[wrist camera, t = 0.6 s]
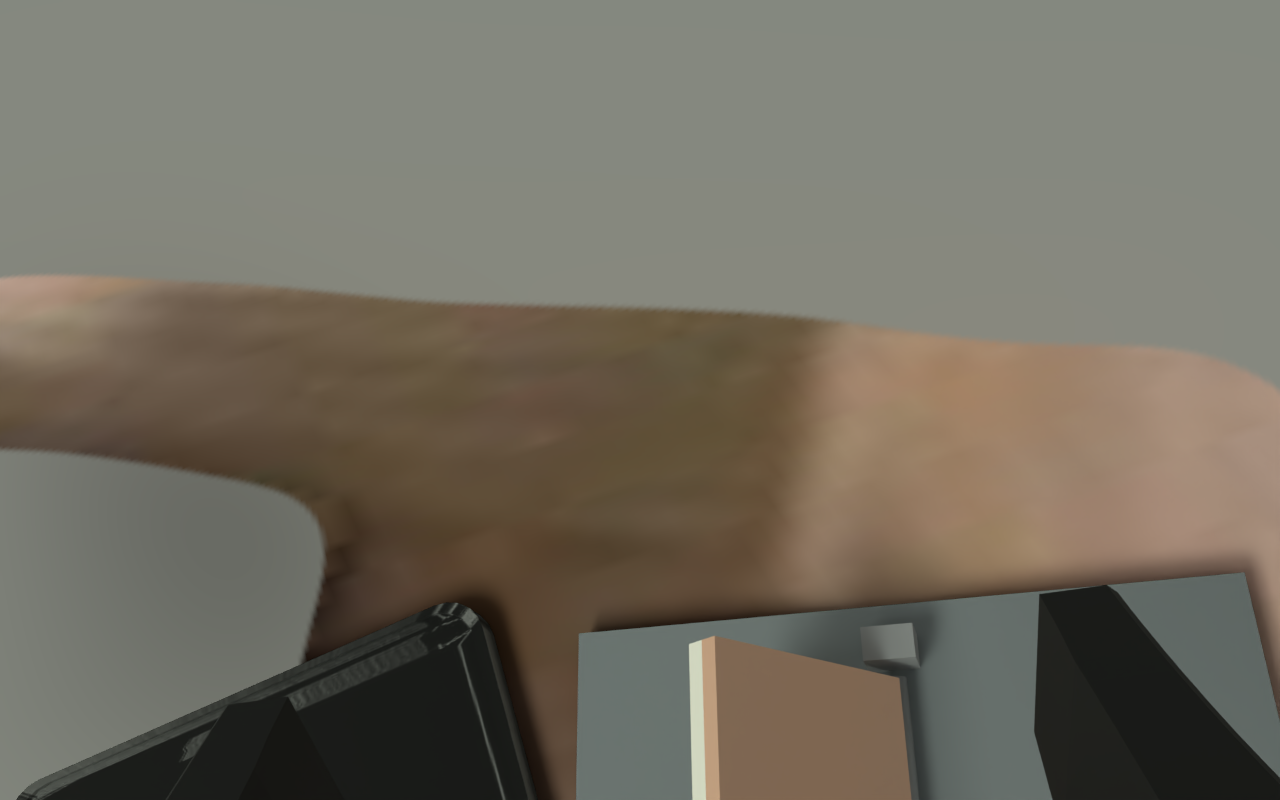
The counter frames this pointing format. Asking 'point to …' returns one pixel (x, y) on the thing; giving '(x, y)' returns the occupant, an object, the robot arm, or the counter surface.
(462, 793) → the phone
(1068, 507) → the counter surface
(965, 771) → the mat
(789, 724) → the tile
